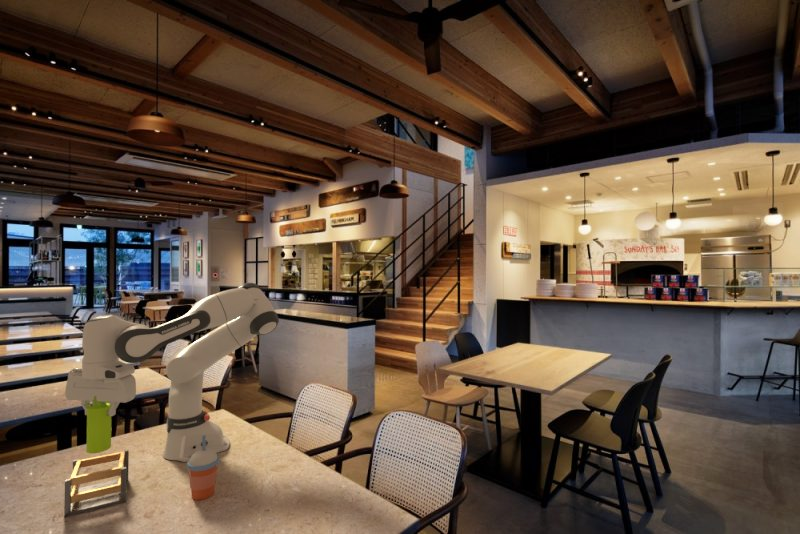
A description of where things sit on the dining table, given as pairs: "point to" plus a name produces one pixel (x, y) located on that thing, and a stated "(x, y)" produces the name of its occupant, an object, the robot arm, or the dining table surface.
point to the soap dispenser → (98, 427)
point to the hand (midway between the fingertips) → (100, 415)
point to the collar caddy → (96, 485)
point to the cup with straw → (203, 472)
